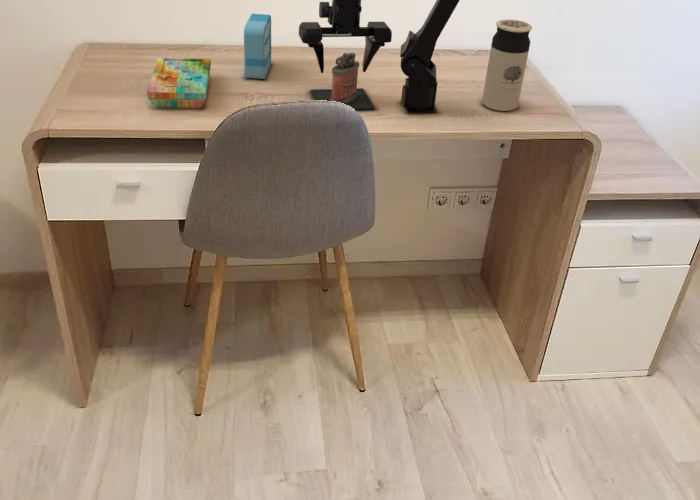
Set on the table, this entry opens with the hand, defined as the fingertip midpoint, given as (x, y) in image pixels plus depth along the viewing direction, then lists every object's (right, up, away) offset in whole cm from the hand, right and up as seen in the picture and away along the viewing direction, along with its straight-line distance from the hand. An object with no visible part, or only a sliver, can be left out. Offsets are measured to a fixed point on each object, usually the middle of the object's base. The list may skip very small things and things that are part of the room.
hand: (342, 72), depth 159 cm
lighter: (0, -5, +3) cm, 6 cm away
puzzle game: (-35, -4, +3) cm, 35 cm away
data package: (-20, +4, +16) cm, 26 cm away
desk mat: (0, -5, +4) cm, 7 cm away
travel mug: (+35, -6, +7) cm, 36 cm away
